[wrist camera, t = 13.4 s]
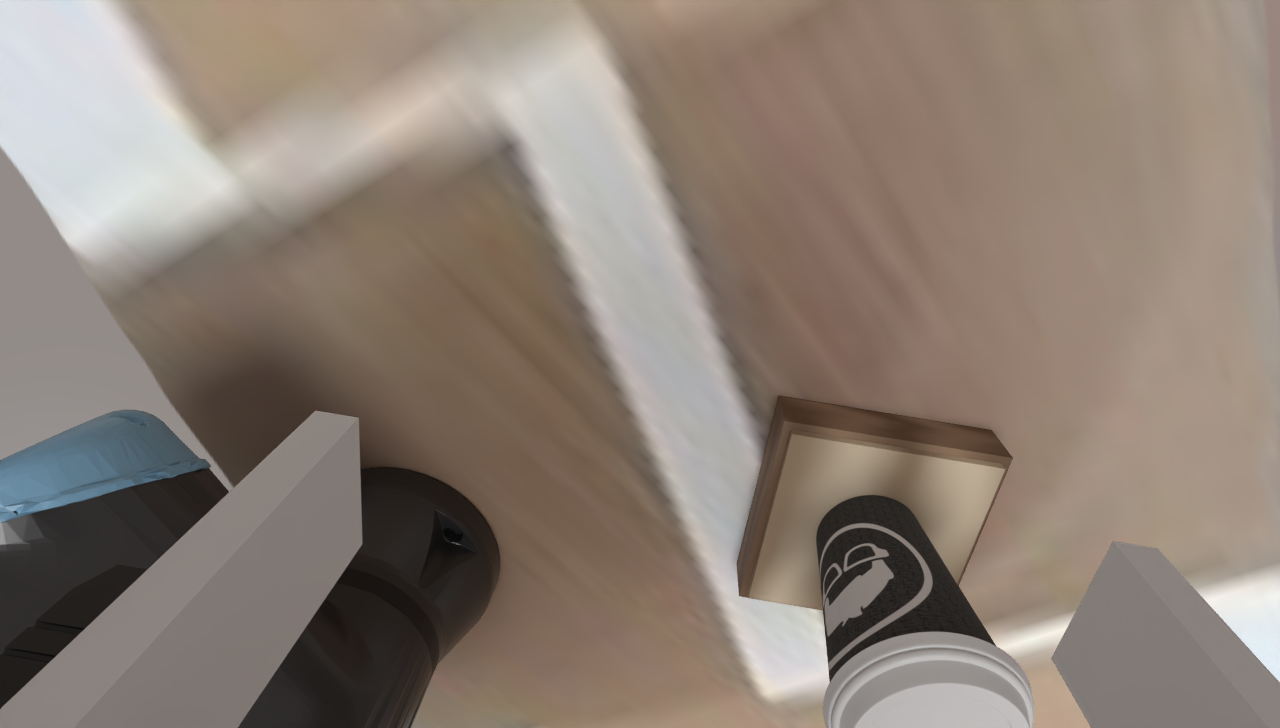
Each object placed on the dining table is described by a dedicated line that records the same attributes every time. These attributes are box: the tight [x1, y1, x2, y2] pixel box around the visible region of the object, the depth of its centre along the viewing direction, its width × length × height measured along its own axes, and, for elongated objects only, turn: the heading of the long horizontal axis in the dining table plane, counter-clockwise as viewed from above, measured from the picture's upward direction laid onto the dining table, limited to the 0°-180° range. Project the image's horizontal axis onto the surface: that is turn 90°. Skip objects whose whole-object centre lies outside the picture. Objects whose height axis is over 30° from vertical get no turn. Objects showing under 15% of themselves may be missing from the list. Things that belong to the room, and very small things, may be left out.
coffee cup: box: [816, 495, 1034, 728], centre depth 39 cm, size 10×10×15 cm
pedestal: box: [737, 396, 1013, 610], centre depth 47 cm, size 14×14×4 cm
